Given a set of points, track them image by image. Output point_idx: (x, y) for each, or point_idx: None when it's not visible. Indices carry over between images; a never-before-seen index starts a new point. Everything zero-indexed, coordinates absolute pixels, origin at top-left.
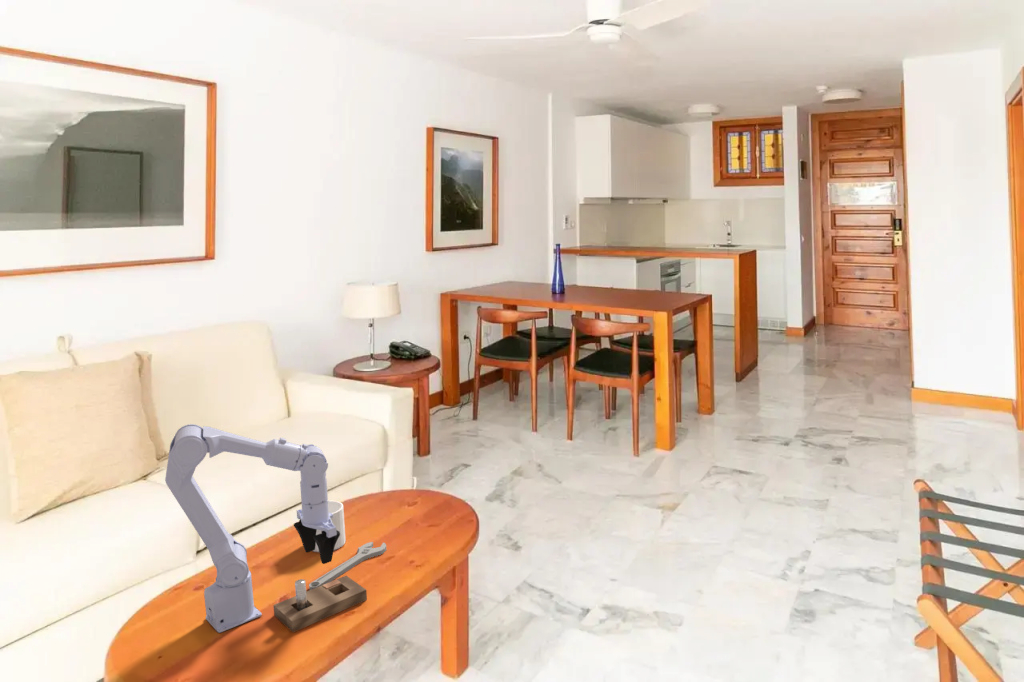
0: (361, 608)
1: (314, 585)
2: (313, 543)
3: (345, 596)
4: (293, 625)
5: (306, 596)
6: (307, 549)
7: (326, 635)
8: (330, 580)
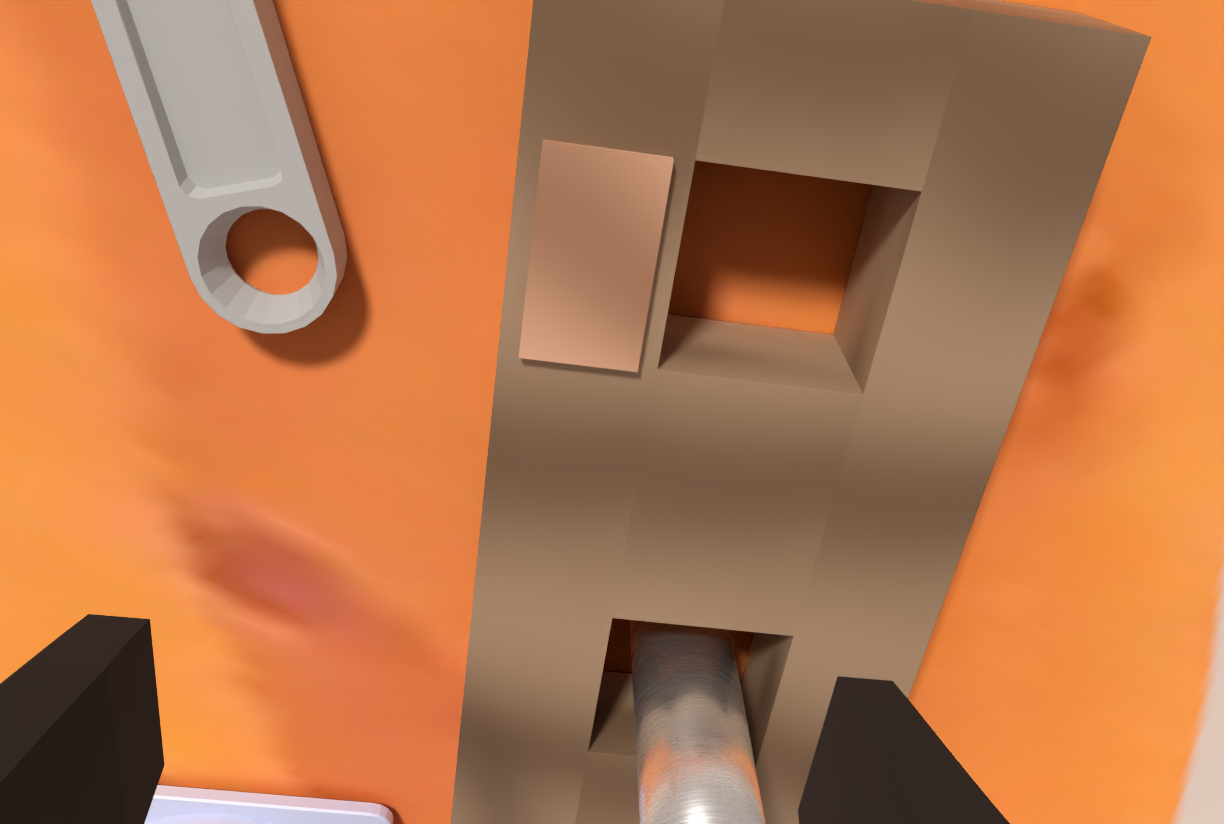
0: (1141, 191)
1: (228, 230)
2: (71, 750)
3: (996, 335)
4: None
5: (740, 739)
6: (135, 801)
7: (1121, 657)
8: (271, 19)
